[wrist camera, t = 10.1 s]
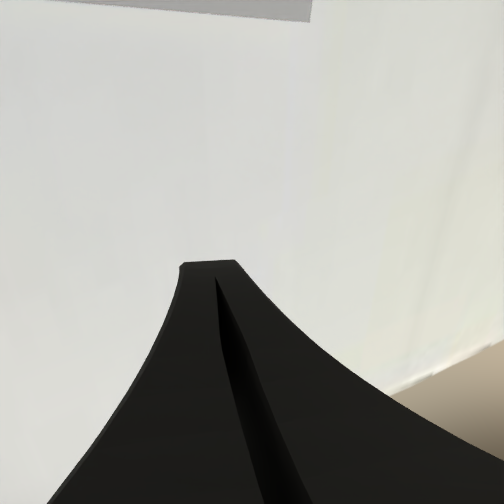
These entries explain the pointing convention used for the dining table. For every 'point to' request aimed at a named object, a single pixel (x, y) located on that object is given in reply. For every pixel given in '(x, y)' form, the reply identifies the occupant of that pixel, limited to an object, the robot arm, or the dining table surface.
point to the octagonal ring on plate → (223, 7)
